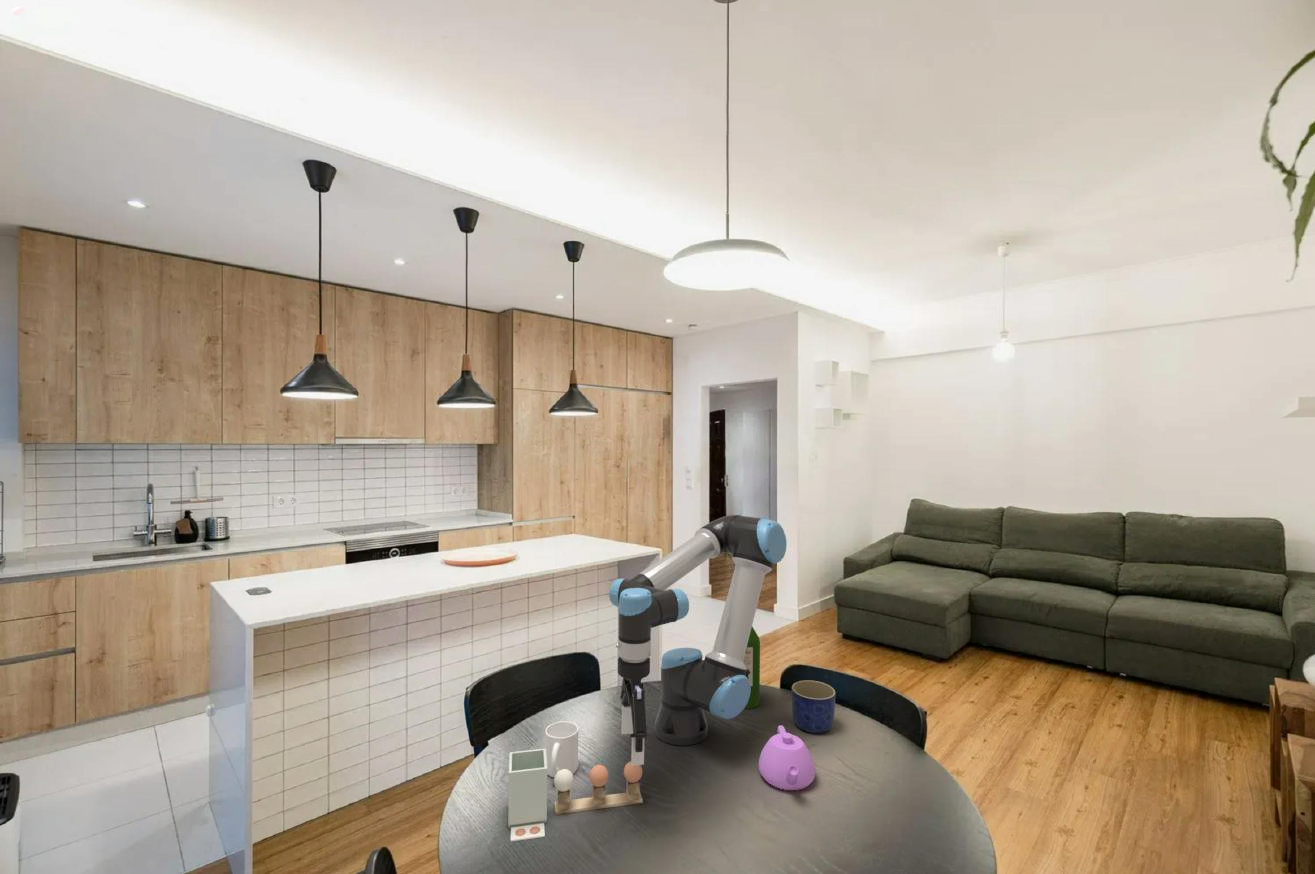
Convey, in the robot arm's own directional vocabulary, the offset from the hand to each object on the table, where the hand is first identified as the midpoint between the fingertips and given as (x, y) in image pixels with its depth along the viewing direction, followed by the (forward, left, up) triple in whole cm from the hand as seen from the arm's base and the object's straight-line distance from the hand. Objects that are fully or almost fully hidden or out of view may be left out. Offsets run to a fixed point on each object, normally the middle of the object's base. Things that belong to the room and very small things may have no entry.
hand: (632, 748), depth 135 cm
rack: (+8, 0, -12) cm, 14 cm away
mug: (+16, -14, -12) cm, 24 cm away
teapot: (-39, 0, -13) cm, 41 cm away
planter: (-58, -22, -12) cm, 64 cm away
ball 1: (+16, 0, -8) cm, 18 cm away
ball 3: (0, 0, -8) cm, 8 cm away
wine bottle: (-44, -40, -12) cm, 61 cm away
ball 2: (+8, 0, -8) cm, 11 cm away
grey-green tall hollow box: (+24, 0, -12) cm, 27 cm away
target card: (+24, +6, -12) cm, 27 cm away
